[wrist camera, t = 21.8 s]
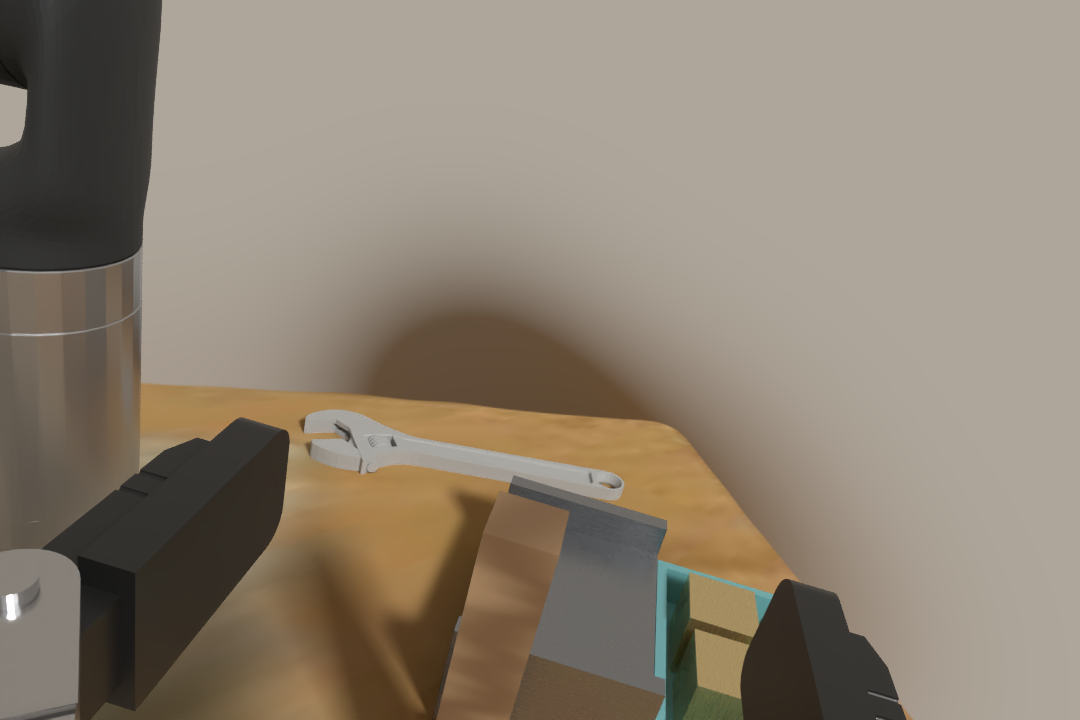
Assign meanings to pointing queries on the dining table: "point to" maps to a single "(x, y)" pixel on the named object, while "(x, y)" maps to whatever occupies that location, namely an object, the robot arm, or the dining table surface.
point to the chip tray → (666, 601)
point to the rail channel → (592, 617)
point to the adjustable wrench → (441, 456)
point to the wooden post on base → (502, 608)
